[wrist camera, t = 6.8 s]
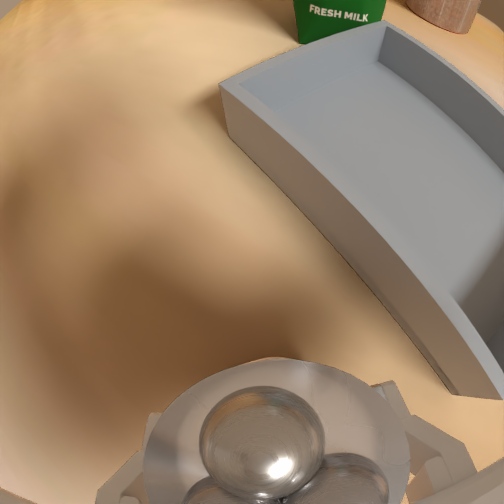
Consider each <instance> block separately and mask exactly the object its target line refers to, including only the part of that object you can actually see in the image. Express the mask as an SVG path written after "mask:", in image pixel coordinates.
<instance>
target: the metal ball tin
mask: <svg viewBox="0 0 504 504" xmlns="http://www.w3.org/2000/svg"><path fill="white" fill-rule="evenodd" d="M409 474H410V450H409V443H408V440H407V436H406V433H405V430H404V428H403V426H402V423H401V421H400V419H399V417H398V416H397V414H396V413H395V411H394V410H393V408H392V407H391V406H390V404H389V403H388V402H387V401H386V400H385V399H384V398H383V397H382V396H381V395H380V394H379V393H378V392H377V391H375V390H374V389H373V388H372V387H370V386H369V385H368V384H366V383H365V382H363V381H361V380H360V379H358V378H356V377H354V376H353V375H351V374H348V373H346V372H343V371H341V370H339V369H336V368H333V367H330V366H326V365H322V364H319V363H314V362H308V361H302V360H296V359H290V358H285V357H266V358H261V359H258V360H255V361H251V362H248V363H245V364H241V365H238V366H235V367H232V368H228V369H225V370H222V371H220V372H218V373H215V374H213V375H211V376H209V377H206V378H205V379H203V380H201V381H200V382H198V383H196V384H194V385H193V386H191V387H190V388H188V389H187V390H186V391H185V392H183V393H182V394H181V395H180V396H178V397H177V398H176V399H175V400H174V401H173V402H172V403H171V404H170V405H169V406H168V407H167V408H166V410H165V411H164V412H163V414H162V415H161V417H160V418H159V419H158V421H157V422H156V424H155V426H154V428H153V430H152V432H151V434H150V436H149V439H148V442H147V445H146V448H145V454H144V461H143V479H144V485H145V491H146V494H147V497H148V500H149V503H150V504H400V503H401V501H402V499H403V496H404V494H405V491H406V488H407V484H408V479H409Z"/></svg>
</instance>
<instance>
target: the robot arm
mask: <svg viewBox="0 0 504 504" xmlns="http://www.w3.org/2000/svg"><path fill="white" fill-rule="evenodd" d="M370 387H372V388H373V389H374V390H375V391H377V392H378V393H379V394H380V395H381V396H382V397H383V398H384V399H385V400H386V401H387V402H388V403H389V404H390V406H391V407H392V408H393V410H394V411H395V413H396V414H397V416H398V417H399V419H400V421H401V423H402V426H403V428H404V430H405V433H406V436H407V440H408V443H409V450H410V472H411V473H412V474H413V475H415V477H414V478H413V479H412V480H411V482H410V483H409V484H408V485H407V488H406V495H407V498H408V501H409V504H504V457H502V458H501V459H499V460H498V461H496V462H494V463H493V464H491V465H489V466H488V467H486V468H484V469H483V470H481V471H479V472H477V470H476V468H475V466H474V464H473V461H472V459H471V457H470V455H469V453H468V451H467V449H466V447H465V445H464V443H462V442H461V441H459V440H457V439H455V438H454V437H452V436H450V435H448V434H447V433H445V432H443V431H441V430H440V429H438V428H436V427H435V426H433V425H431V424H430V423H428V422H426V421H425V420H423V419H421V418H420V417H418V416H416V415H410V413H409V411H408V408H407V406H406V404H405V402H404V400H403V398H402V396H401V394H400V392H399V390H398V388H397V386H396V383H395V382H394V381H393V380H390V381H387V382H384V383H380V384H375V385H371V386H370ZM162 414H163V413H150V415H149V416H148V420H147V425H146V429H145V434H144V439H143V444H142V449H141V451H137V452H136V453H135V454H134V455H133V456H132V457H131V458H130V459H129V460H128V461H127V462H126V463H125V464H124V465H123V466H122V467H121V468H120V469H119V470H118V471H117V472H116V473H115V474H114V475H113V476H112V477H111V478H110V479H109V480H108V481H107V482H106V483H105V484H104V485H103V486H102V487H101V488H100V489H98V492H97V496H96V501H95V504H150V503H149V500H148V497H147V494H146V491H145V485H144V479H143V461H144V454H145V448H146V445H147V442H148V439H149V436H150V434H151V432H152V430H153V428H154V426H155V424H156V422H157V421H158V419H159V418H160V417H161V415H162ZM0 504H37V503H34V502H32V501H29V500H27V499H25V498H22V497H20V496H18V495H15V494H13V493H11V492H9V491H7V490H5V489H3V488H1V487H0Z"/></svg>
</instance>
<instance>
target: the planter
mask: <svg viewBox="0 0 504 504" xmlns="http://www.w3.org/2000/svg"><path fill="white" fill-rule="evenodd" d="M480 2H481V0H406V4H407V6H408V7H409V8H410V9H411V10H412V11H413V12H414V13H416V14H417V15H419V16H420V17H422V18H423V19H425V20H427V21H428V22H430V23H432V24H434V25H436V26H438V27H441V28H443V29H445V30H448V31H451V32H454V33H458V34H466V33H468V31H469V29H470V27H471V25H472V23H473V20H474V18H475V15H476V13H477V10H478V7H479V5H480Z"/></svg>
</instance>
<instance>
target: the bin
mask: <svg viewBox="0 0 504 504" xmlns="http://www.w3.org/2000/svg"><path fill="white" fill-rule="evenodd" d="M219 88H220V94H221V99H222V104H223V109H224V114H225V119H226V124H227V129H228V134H229V138H230V139H232V140H233V141H234V142H235V143H236V144H237V145H238V146H239V147H240V148H241V149H242V150H243V151H244V152H245V153H246V154H247V155H248V156H249V157H250V158H251V159H252V160H253V161H254V162H255V163H256V164H257V165H258V166H259V167H260V168H261V169H262V170H263V171H264V172H265V173H266V174H267V175H268V176H269V178H270V179H271V180H272V181H273V182H274V183H275V184H276V185H277V186H278V187H279V188H280V189H281V190H282V191H283V192H284V193H285V194H286V195H287V196H288V197H289V198H290V199H291V200H292V202H293V203H294V204H295V205H296V206H297V207H298V208H299V209H300V210H301V211H302V212H303V213H304V214H305V215H306V217H307V218H308V219H309V220H310V221H311V222H312V223H313V224H314V225H315V226H316V227H317V229H318V230H319V231H320V232H321V233H322V234H323V235H324V236H325V237H326V239H327V240H328V241H329V242H330V243H331V244H332V245H333V246H334V248H335V249H336V250H337V251H338V252H339V253H340V254H341V255H342V257H343V258H344V259H345V260H346V261H347V262H348V264H349V265H350V266H351V267H352V268H353V269H354V270H355V272H356V273H357V274H358V275H359V276H360V277H361V279H362V280H363V281H364V282H365V283H366V285H367V286H368V287H369V288H370V289H371V291H372V292H373V293H374V294H375V295H376V297H377V298H378V299H379V300H380V301H381V303H382V304H383V305H384V306H385V307H386V309H387V310H388V311H389V312H390V314H391V315H392V316H393V317H394V319H395V320H396V321H397V322H398V324H399V325H400V326H401V327H402V329H403V330H404V331H405V332H406V334H407V335H408V336H409V338H410V339H411V340H412V341H413V343H414V344H415V345H416V347H417V348H418V349H419V350H420V352H421V353H422V354H423V356H424V357H425V358H426V360H427V361H428V362H429V364H430V365H431V366H432V368H433V369H434V370H435V372H436V373H437V374H438V376H439V377H440V379H441V380H442V381H443V383H444V384H445V385H446V387H447V388H448V390H449V391H450V392H451V394H452V395H459V396H467V397H475V398H484V399H494V400H504V110H503V109H502V108H501V107H500V106H499V105H498V104H497V103H496V102H495V101H494V100H493V99H492V98H491V97H490V96H489V95H487V94H486V93H485V92H484V91H483V90H482V89H481V88H480V87H479V86H477V85H476V84H475V83H474V82H473V81H472V80H470V79H469V78H468V77H467V76H466V75H464V74H463V73H462V72H461V71H459V70H458V69H457V68H456V67H454V66H453V65H452V64H450V63H449V62H448V61H446V60H445V59H444V58H442V57H441V56H440V55H438V54H437V53H436V52H434V51H433V50H431V49H430V48H428V47H427V46H425V45H424V44H422V43H421V42H419V41H418V40H416V39H415V38H413V37H412V36H410V35H409V34H407V33H405V32H404V31H402V30H400V29H399V28H397V27H395V26H394V25H392V24H390V23H389V22H387V21H385V20H382V21H379V22H375V23H371V24H367V25H364V26H360V27H357V28H353V29H350V30H347V31H344V32H341V33H337V34H334V35H331V36H328V37H326V38H323V39H320V40H317V41H314V42H312V43H309V44H306V45H303V46H301V47H298V48H296V49H293V50H291V51H288V52H286V53H283V54H281V55H279V56H276V57H274V58H272V59H269V60H267V61H265V62H262V63H260V64H258V65H256V66H254V67H251V68H249V69H247V70H245V71H243V72H241V73H239V74H237V75H235V76H233V77H231V78H229V79H227V80H225V81H223V82H221V83H219Z"/></svg>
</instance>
